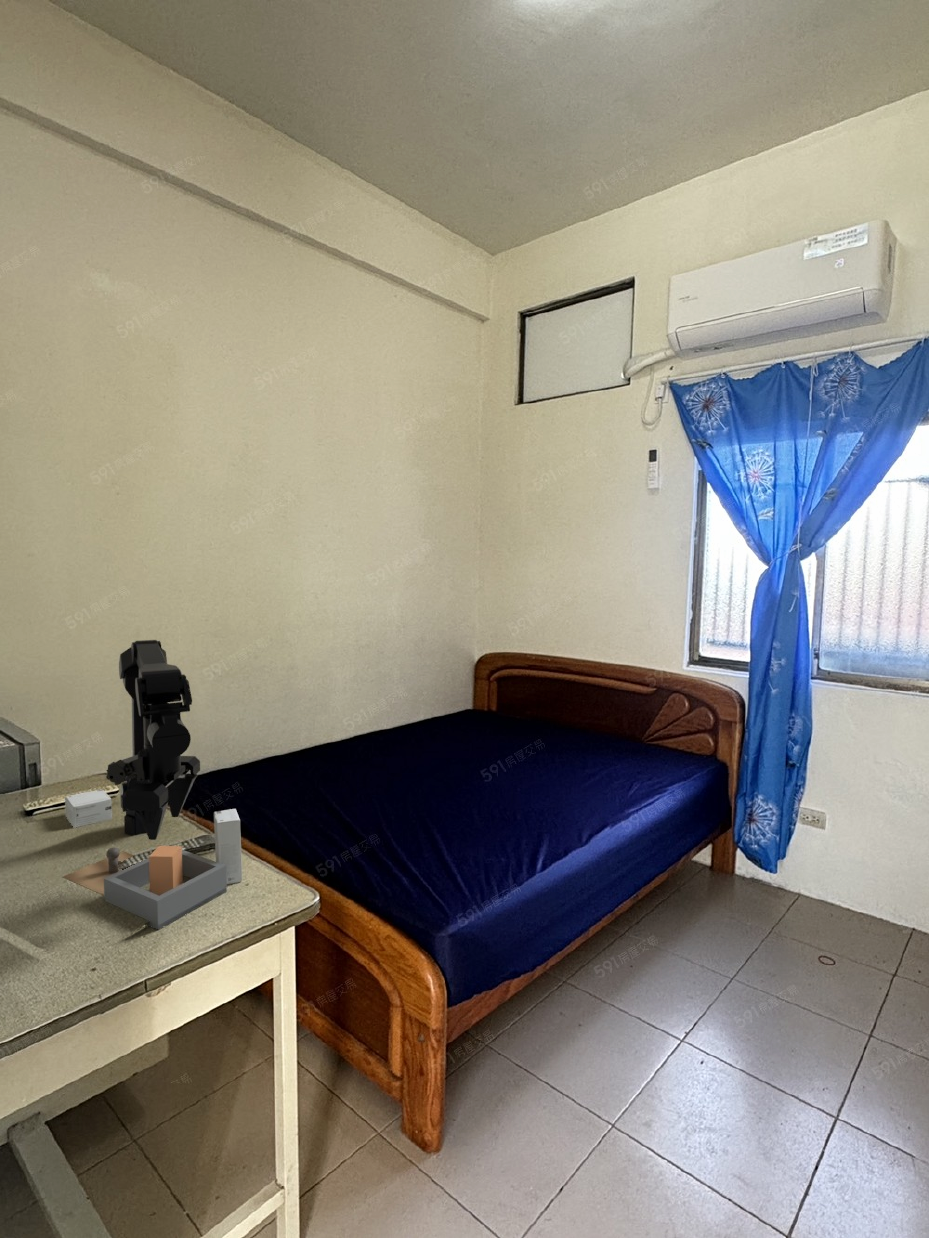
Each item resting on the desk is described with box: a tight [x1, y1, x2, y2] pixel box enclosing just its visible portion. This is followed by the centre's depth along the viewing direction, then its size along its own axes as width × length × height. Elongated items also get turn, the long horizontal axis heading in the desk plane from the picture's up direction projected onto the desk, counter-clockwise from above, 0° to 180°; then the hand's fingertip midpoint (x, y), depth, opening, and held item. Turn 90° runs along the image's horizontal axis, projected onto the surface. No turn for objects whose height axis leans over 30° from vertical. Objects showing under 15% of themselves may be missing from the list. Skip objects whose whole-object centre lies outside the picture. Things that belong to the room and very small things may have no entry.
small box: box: [64, 788, 113, 829], centre depth 149 cm, size 8×8×5 cm
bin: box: [103, 849, 228, 931], centre depth 117 cm, size 14×14×5 cm
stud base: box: [62, 846, 136, 896], centre depth 124 cm, size 12×12×6 cm
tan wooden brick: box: [148, 845, 184, 896], centre depth 116 cm, size 4×4×8 cm
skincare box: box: [213, 808, 243, 886], centre depth 124 cm, size 6×4×12 cm
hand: (164, 827), depth 116 cm, fingers open, 9 cm apart
